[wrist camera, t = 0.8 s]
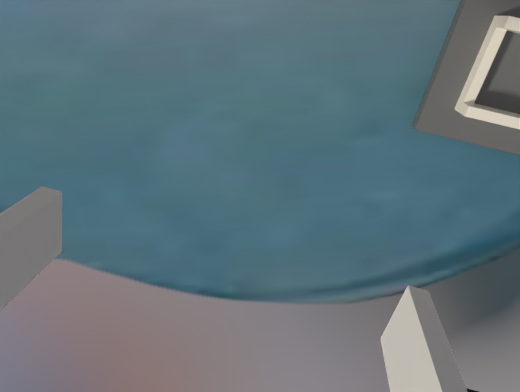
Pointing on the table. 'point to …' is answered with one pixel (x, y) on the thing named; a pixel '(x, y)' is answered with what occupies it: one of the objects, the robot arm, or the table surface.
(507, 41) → the board
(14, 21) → the table surface
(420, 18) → the table surface
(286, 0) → the table surface
